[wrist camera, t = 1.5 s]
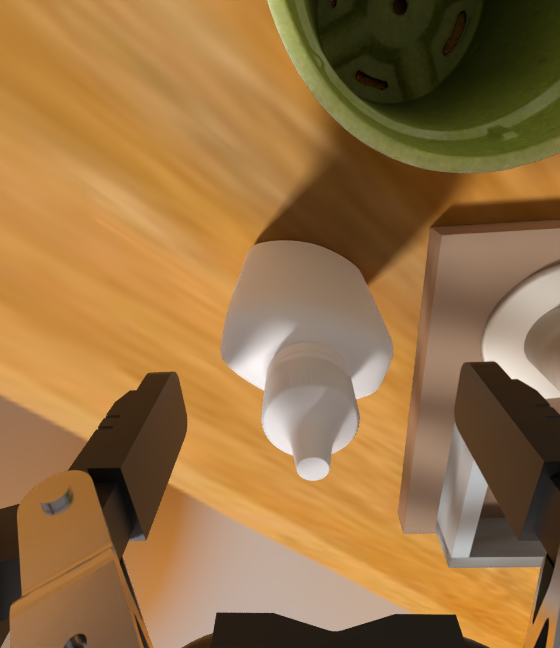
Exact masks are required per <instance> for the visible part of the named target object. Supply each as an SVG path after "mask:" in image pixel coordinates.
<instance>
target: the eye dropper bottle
mask: <svg viewBox="0 0 560 648" xmlns="http://www.w3.org/2000/svg"><path fill="white" fill-rule="evenodd" d="M220 350H221V355H222V359H223V360H224V362H225V363H226V364H227V365H228V367H229V368H231V369H232V370H233V371H234V372H236V373H237V374H238V375H239V376H241V377H242V378H244V379H245V380H247V381H248V382H250V383H252V384H253V385H255V386H257V387H258V388H260V389H262V390H264V399H263V408H262V420H261V421H262V426H263V430H264V433H265V434H266V437H267V438H268V440H270V441H271V443H272V444H274V446H276V447H277V448H278V449H280V450H282V451H283V452H285V453H288V454H290V455H293V457H294V461H295V465H296V469H297V472H298V474H299V475H300V476H301V477H302V478H304V479H306V480H312V481H315V480H320V479H322V478H324V477H325V476H327V474H328V473H329V469H330V462H331V454H333V453H335V452H337V451H339V450H341V449H342V448H344V447H345V446H346V445H347V444H348V443H349V442H350V441H351V440H352V439H353V438H354V436H355V435H356V432H357V431H358V427H359V423H360V422H359V419H360V417H359V410H358V406H357V402H356V399H359V398H363V397H366V396H368V395H370V394H372V393H374V392H375V391H376V390H377V389H378V388H379V386H380V385H381V383H382V381H383V379H384V377H385V375H386V373H387V370H388V368H389V366H390V363H391V360H392V357H393V343H392V339H391V337H390V335H389V332H388V330H387V327H386V325H385V323H384V321H383V318H382V316H381V314H380V312H379V310H378V307H377V305H376V303H375V301H374V299H373V297H372V295H371V292H370V290H369V288H368V286H367V284H366V282H365V280H364V278H363V276H362V274H361V272H360V270H359V269H358V268H357V267H356V266H355V265H354V264H353V263H351V262H350V261H349V260H347V259H346V258H344V257H343V256H341V255H339V254H337V253H335V252H333V251H331V250H329V249H327V248H324V247H322V246H319V245H315V244H312V243H307V242H301V241H292V240H279V241H269V242H263V243H258V244H256V245H254V246H253V247H251V248H250V250H249V252H248V254H247V256H246V259H245V262H244V264H243V267H242V270H241V273H240V275H239V278H238V281H237V284H236V287H235V290H234V292H233V295H232V298H231V301H230V304H229V308H228V311H227V314H226V319H225V323H224V329H223V334H222V340H221V348H220Z"/></svg>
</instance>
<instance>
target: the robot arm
mask: <svg viewBox="0 0 560 648" xmlns="http://www.w3.org/2000/svg"><path fill="white" fill-rule="evenodd" d="M454 417H455V423H456V426H457V429H458V431H459V433H460V435H461V437H462V439H463V440H464V442H465V444H466V446H467V448H468V449H469V451H470V453H471V455H472V457H473V459H474V460H475V462H476V464H477V466H478V468H479V470H480V471H481V473H482V475H483V477H484V479H485V480H486V482H487V484H488V486H489V488H490V490H491V491H492V493H493V495H494V497H495V499H496V501H497V502H498V504H499V506H500V508H501V510H502V512H503V513H504V515H505V517H506V519H507V521H508V522H509V524H510V526H511V528H512V530H513V532H514V533H515V535H516V537H517V539H518V541H540V542H541V543H542V545H543V547H544V548H545V550H546V552H545V555H544V557H543V560H542V565H541V569H540V574H539V579H538V583H537V588H536V593H535V598H534V602H533V607H532V612H531V616H530V621H529V626H528V630H527V635H526V639H525V643H524V646H523V648H560V414H559V413H558V412H557V411H556V410H555V409H554V408H553V407H550V404H549V403H548V402H547V400H546V399H545V398H544V397H543V396H542V395H541V394H540V393H539V392H538V391H537V390H535V389H534V388H532V387H530V386H529V385H527V384H525V383H524V382H522V381H520V380H519V379H511V378H510V377H509V376H508V374H507V373H506V372H505V371H504V370H503V369H502V368H501V367H500V365H499V364H498V363H496V362H494V361H486V362H465V363H463V365H462V367H461V371H460V376H459V382H458V388H457V394H456V400H455V406H454ZM186 431H187V413H186V409H185V404H184V400H183V395H182V391H181V386H180V382H179V378H178V375H177V373H176V372H154V373H148V374H147V375H146V376H145V378H144V379H143V381H142V382H141V384H140V386H139V387H138V389H137V390H133V391H129V392H128V393H126V394H125V395H124V396H122V397H121V398H120V399H119V400H117V401H116V402H115V403H114V405H113V406H112V407H111V409H110V410H109V412H108V413H107V415H106V418H104V419H103V420H102V422H101V423H100V425H99V426H98V430H96V431H95V432H94V434H93V435H92V436H91V438H90V439H89V441H88V442H87V444H86V445H85V447H84V448H83V450H82V451H81V453H80V454H79V455H78V457H77V458H76V460H75V461H74V463H73V464H72V465H71V467H70V468H69V470H68V471H65V472H61V473H58V474H55V475H53V476H51V477H49V478H47V479H45V480H43V481H42V482H40V483H39V484H37V485H36V486H35V487H34V488H32V490H30V491H29V492H28V493H27V495H26V496H25V497H24V498H23V500H22V501H21V503H20V504H17V505H14V506H10V507H6V508H3V509H0V647H1V646H2V644H3V642H4V640H5V638H6V636H7V635H8V633H9V631H10V648H153V645H152V642H151V639H150V637H149V634H148V631H147V628H146V625H145V622H144V619H143V616H142V613H141V609H140V607H139V603H138V600H137V597H136V594H135V591H134V588H133V585H132V582H131V579H130V576H129V573H128V569H127V566H126V563H125V560H124V558H123V553H124V551H125V548H126V546H127V543H128V541H146V539H147V537H148V534H149V531H150V529H151V526H152V523H153V521H154V518H155V515H156V513H157V510H158V507H159V505H160V502H161V499H162V497H163V494H164V491H165V489H166V486H167V483H168V481H169V478H170V476H171V473H172V470H173V468H174V465H175V462H176V460H177V457H178V454H179V452H180V449H181V446H182V444H183V441H184V438H185V435H186ZM182 648H489V647H487V646H485V645H483V644H480V643H478V642H476V641H474V640H471V639H468V638H465V637H463V635H462V632H461V629H460V626H459V623H458V620H457V617H456V615H432V614H394V615H391V616H388V617H384V618H381V619H378V620H375V621H372V622H368V623H365V624H362V625H358V626H355V627H352V628H349V629H345V630H342V631H328V630H325V629H322V628H319V627H316V626H313V625H309V624H306V623H303V622H299V621H297V620H294V619H290V618H287V617H284V616H281V615H278V614H275V613H216V619H215V625H214V631H213V633H212V634H209V635H206V636H203V637H202V638H199V639H197V640H195V641H193V642H191V643H189V644H187V645H186V646H184V647H182Z"/></svg>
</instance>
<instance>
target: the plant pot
mask: <svg viewBox="0 0 560 648" xmlns="http://www.w3.org/2000/svg"><path fill="white" fill-rule="evenodd" d="M267 1H268V4H269V8H270V11H271V13H272V16H273V19H274V22H275V25H276V27H277V30H278V32H279V35H280V37H281V39H282V42H283V44H284V46H285V48H286V51H287V53H288V55H289V57H290V59H291V61H292V62H293V64H294V66H295V68H296V70H297V71H298V73H299V74H300V76H301V78H302V79H303V81H304V82H305V84H306V85H307V86H308V88H309V89H310V91H311V92H312V94H313V95H314V97H315V98H316V99H317V101H318V102H319V103H320V104H321V105H322V107H323V108H324V109H325V110H326V111H327V112H328V113H329V114H330V115H331V116H332V117H333V118H334V119H335V120H336V121H337V122H338V123H339V124H340V125H341V126H342V127H343V128H344V129H346V130H347V131H348V132H349V133H351V134H352V135H353V136H354V137H356V138H357V139H358V140H360V141H361V142H363V143H364V144H366V145H367V146H369V147H371V148H372V149H374V150H376V151H378V152H380V153H382V154H384V155H386V156H388V157H390V158H393V159H395V160H398V161H401V162H403V163H405V164H409V165H412V166H415V167H419V168H423V169H427V170H432V171H439V172H448V173H487V172H496V171H503V170H507V169H512V168H515V167H519V166H522V165H526V164H529V163H533V162H536V161H539V160H542V159H544V158H547V157H550V156H552V155H555V154H558V153H560V0H405V1H406V2H407V3H408V6H407V10H406V12H405V13H404V14H402V15H398V14H395V13H394V11H393V3H394V1H395V0H337V4H336V6H335V7H334V8H332V5H331V3H330V0H267ZM461 11H465V14H466V24H465V27H464V30H463V32H462V34H461V36H460V38H459V40H458V43H457V44H456V46H455V47H454V49H453V50H452V51H451V52H450V53H449V54H447V55H444V54H443V48H444V46H445V44H446V42H447V41H448V39H449V38H450V35H451V33H452V32H453V29H454V26H455V24H456V19H457V17H458V14H459V13H460V12H461ZM359 70H360V71H361V72H363V73H364V74H366V75H368V76H370V77H372V78H375V79H378V80H381V81H386V82H387V84H388V87H386V89H385V90H379V89H378V88H375V87H373V86H364V85H362V84H361V83H360V82H359V81H357V80H356V72H357V71H359Z"/></svg>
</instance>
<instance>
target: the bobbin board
mask: <svg viewBox="0 0 560 648" xmlns="http://www.w3.org/2000/svg"><path fill="white" fill-rule="evenodd" d="M486 361H494V362H496V363H498V364H499V365H500V367H501V368H502V369H503V370H504V371H505V372H506V373H507V374H508V376H509V377H510V378H511V379H519V380H520V381H522V382H524V383H525V384H527V385H529V386H530V387H532V388H534V389H535V390H537V391H538V392H539V393H540V394H541V395H542V396H543V397H544V398H545V399H546V400H547V402H548V403H549V404H550V407H553V408H554V409H555V410H556V411H557V412H558V413H559V414H560V219H558V220H541V221H524V222H508V223H491V224H474V225H458V226H441V227H430V235H429V243H428V252H427V261H426V270H425V279H424V288H423V296H422V305H421V314H420V323H419V332H418V341H417V350H416V358H415V367H414V376H413V385H412V394H411V403H410V412H409V420H408V429H407V438H406V447H405V456H404V465H403V473H402V482H401V491H400V500H399V509H398V515H399V519H400V523H401V526H402V530H403V534H427V533H437V535H438V538H439V541H440V544H441V547H442V549H443V552H444V555H445V558H446V561H447V564H448V566H449V568H487V567H541V565H542V560H543V557H544V555H545V552H546V550H545V548H544V547H543V545H542V543H541V542H540V541H518V539H517V537H516V535H515V533H514V532H513V530H512V528H511V526H510V524H509V522H508V521H507V519H506V517H505V515H504V513H503V512H502V510H501V508H500V506H499V504H498V502H497V501H496V499H495V497H494V495H493V493H492V491H491V490H490V488H489V486H488V484H487V482H486V480H485V479H484V477H483V475H482V473H481V471H480V470H479V468H478V466H477V464H476V462H475V460H474V459H473V457H472V455H471V453H470V451H469V449H468V448H467V446H466V444H465V442H464V440H463V439H462V437H461V435H460V433H459V431H458V429H457V426H456V423H455V417H454V406H455V400H456V394H457V388H458V382H459V376H460V371H461V367H462V365H463V363H465V362H486Z"/></svg>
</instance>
